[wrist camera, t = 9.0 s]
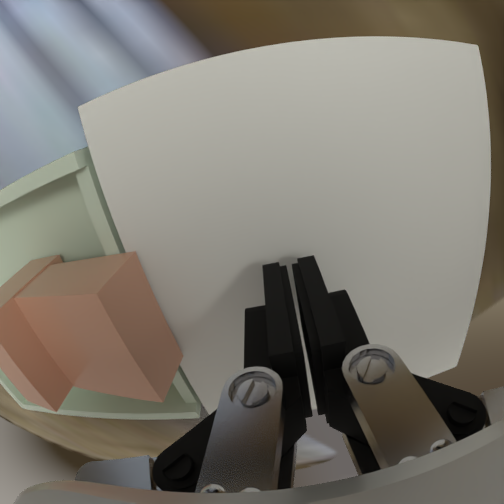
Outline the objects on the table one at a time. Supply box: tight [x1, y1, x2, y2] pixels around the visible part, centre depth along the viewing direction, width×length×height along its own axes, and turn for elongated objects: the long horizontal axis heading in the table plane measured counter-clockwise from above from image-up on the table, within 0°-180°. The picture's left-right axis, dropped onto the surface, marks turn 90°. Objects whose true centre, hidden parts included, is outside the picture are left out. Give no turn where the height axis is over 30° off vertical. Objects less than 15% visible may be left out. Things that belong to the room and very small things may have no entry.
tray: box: [0, 147, 202, 420], centre depth 13 cm, size 14×13×3 cm
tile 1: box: [0, 255, 73, 412], centre depth 11 cm, size 5×5×2 cm
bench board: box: [78, 36, 491, 415], centre depth 12 cm, size 14×16×2 cm
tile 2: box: [14, 251, 183, 403], centre depth 11 cm, size 5×5×2 cm
